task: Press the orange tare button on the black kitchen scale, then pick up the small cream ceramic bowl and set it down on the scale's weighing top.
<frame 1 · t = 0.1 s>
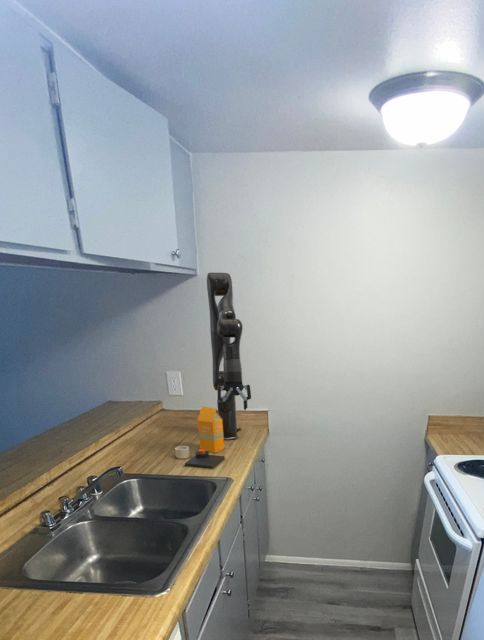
hand: (235, 410, 205), 22 cm above the worktop, tool pointing down, fingers open, 8 cm apart
orange juice: (212, 449, 229), on the worktop
bowl: (183, 457, 217), on the worktop
tare button: (201, 451, 214), point 3 cm above the worktop, slide at 0.1 cm
scale: (205, 462, 211), on the worktop
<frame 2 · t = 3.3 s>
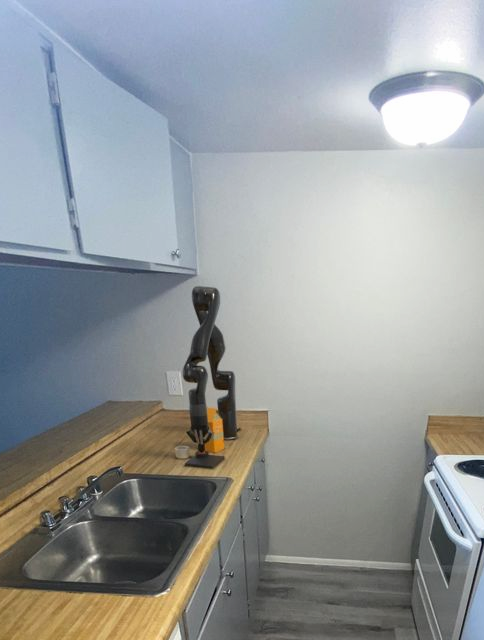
hand: (201, 451, 214), 3 cm above the worktop, tool pointing down, fingers closed
tare button: (201, 453, 215), point 3 cm above the worktop, slide at -0.7 cm, touching gripper
everything else where it was.
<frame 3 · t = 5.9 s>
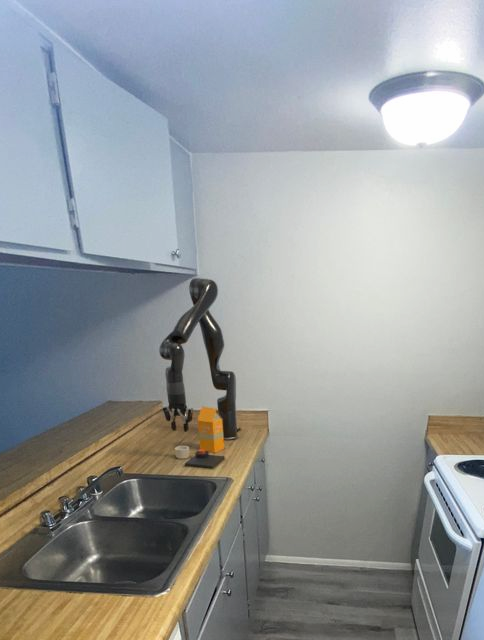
hand: (180, 430, 212), 12 cm above the worktop, tool pointing down, fingers open, 5 cm apart
tare button: (201, 451, 214), point 3 cm above the worktop, slide at 0.1 cm
everything else where it was.
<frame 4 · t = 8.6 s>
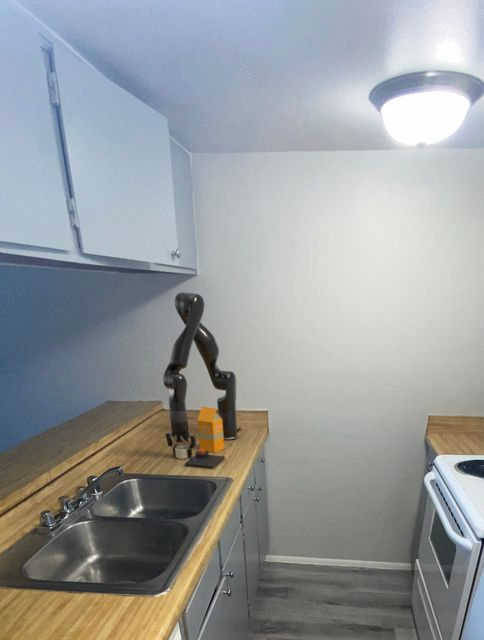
hand: (182, 455, 217), 1 cm above the worktop, tool pointing down, fingers closed on bowl, 6 cm apart
bowl: (183, 457, 217), on the worktop, touching gripper
everything else where it was.
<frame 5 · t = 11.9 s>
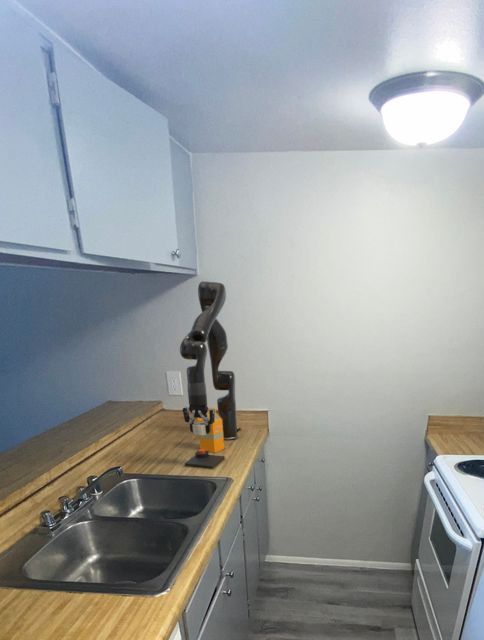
hand: (200, 432, 203), 14 cm above the worktop, tool pointing down, fingers closed on bowl, 6 cm apart
bowl: (200, 434, 203), point 14 cm above the worktop, touching gripper
everything else where it was.
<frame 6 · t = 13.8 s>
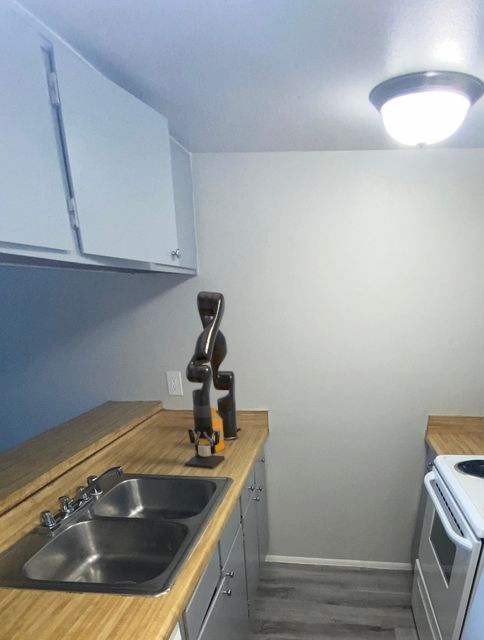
hand: (205, 453, 205), 5 cm above the worktop, tool pointing down, fingers closed on bowl, 6 cm apart
bowl: (205, 454, 206), point 5 cm above the worktop, touching gripper
everything else where it was.
when the fingers open (2 cm above the worktop, at t = 15.3 s): bowl stays where it is, resting on scale.
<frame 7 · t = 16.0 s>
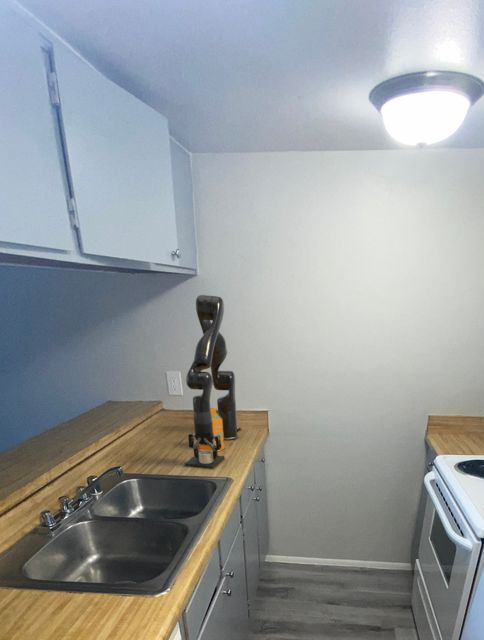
hand: (206, 457, 207), 3 cm above the worktop, tool pointing down, fingers open, 8 cm apart
bowl: (206, 462, 207), point 1 cm above the worktop, touching scale
everything else where it was.
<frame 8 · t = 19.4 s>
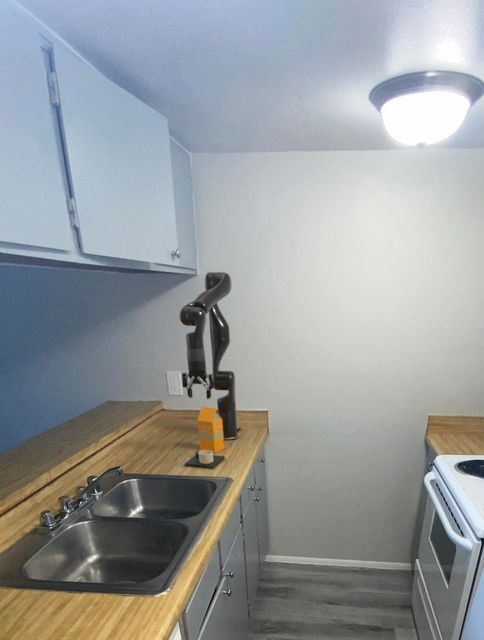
hand: (199, 398, 208), 26 cm above the worktop, tool pointing down, fingers open, 8 cm apart
nothing on the worktop moved.
at the end: tare button pushed in 0.9 cm at the most during the clip, back to where it started at the end; bowl inside the target area on the scale (3.2 cm from its centre), point 1.4 cm above the scale's base; bowl touching scale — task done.
